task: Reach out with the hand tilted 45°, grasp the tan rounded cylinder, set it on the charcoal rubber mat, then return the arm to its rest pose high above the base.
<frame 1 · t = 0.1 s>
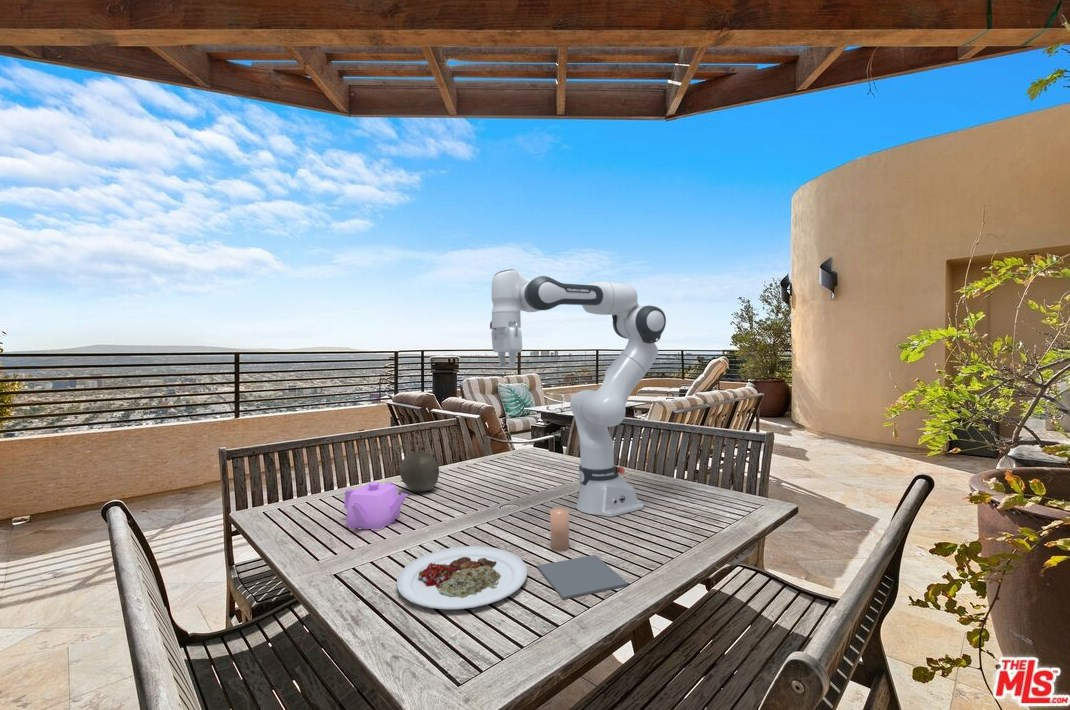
hand: (507, 367, 149), 48 cm above the table, tool pointing down, fingers open, 8 cm apart
plated food: (463, 581, 113), on the table
tan rounded cylinder: (559, 547, 130), on the table
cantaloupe: (420, 492, 182), on the table
teakettle: (375, 523, 151), on the table
mat: (580, 576, 113), on the table
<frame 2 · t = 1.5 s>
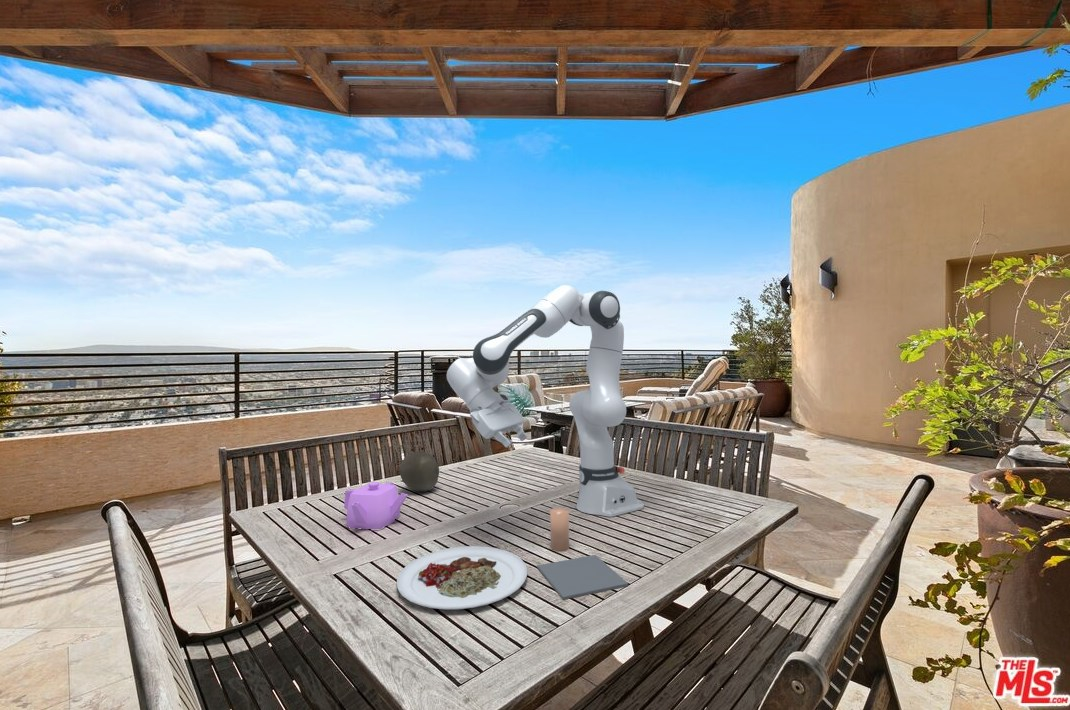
hand: (517, 442, 135), 28 cm above the table, tool tilted 45°, fingers open, 8 cm apart
nothing on the table moved.
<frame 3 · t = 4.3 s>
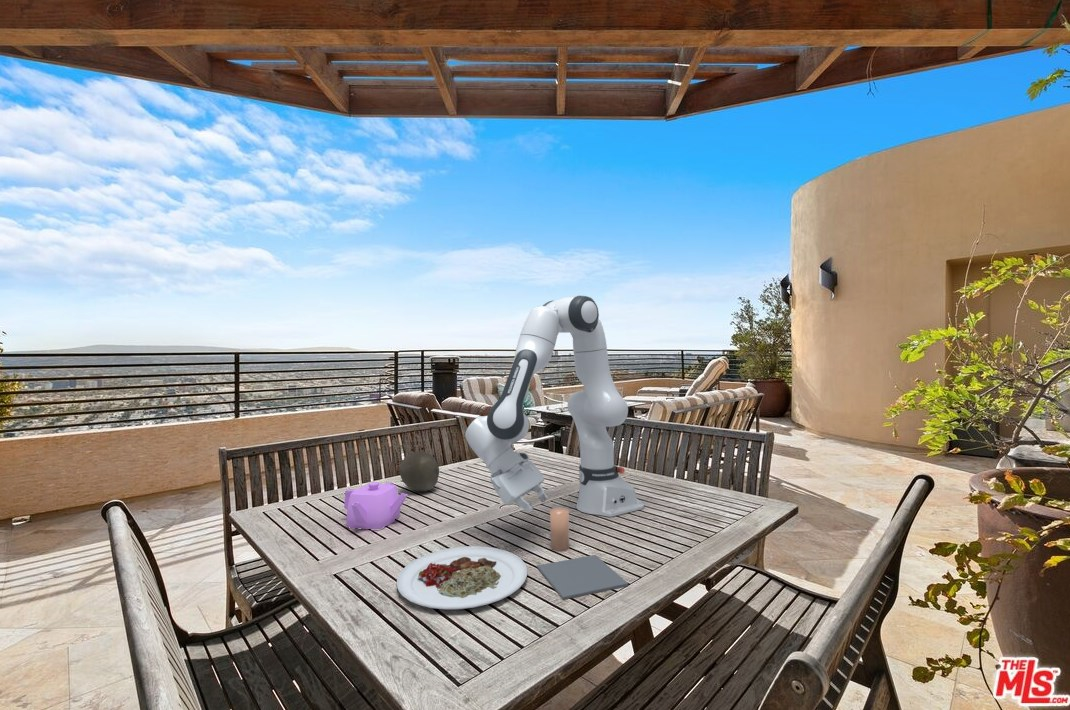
hand: (538, 505, 132), 11 cm above the table, tool tilted 45°, fingers open, 8 cm apart
nothing on the table moved.
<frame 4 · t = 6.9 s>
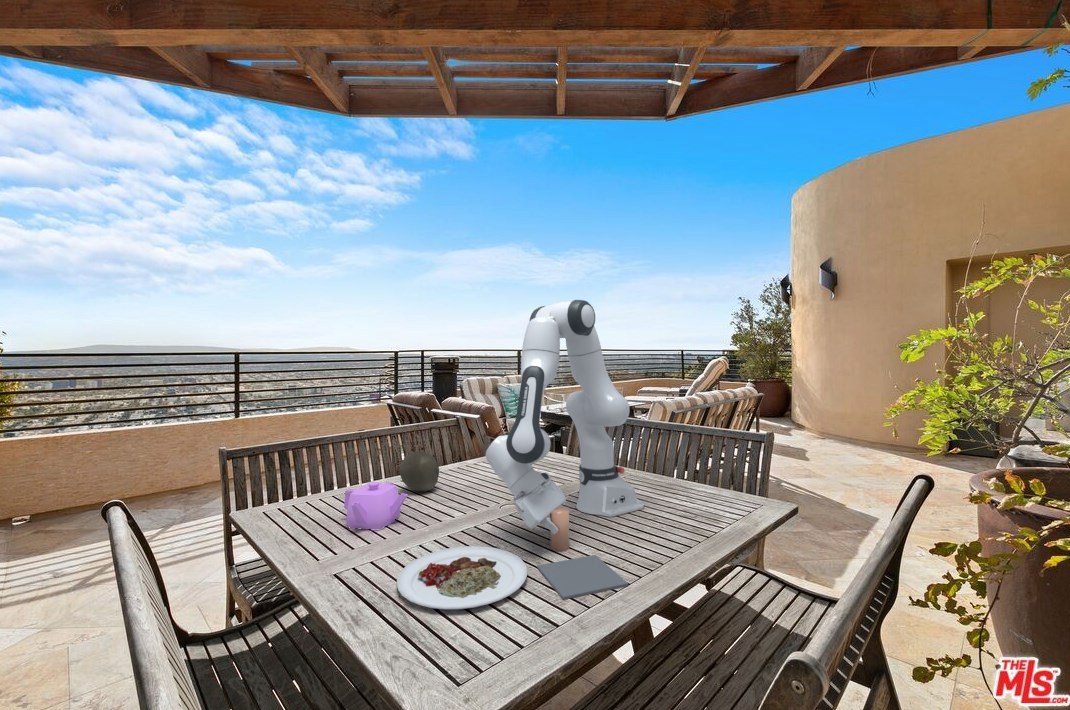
hand: (561, 527, 130), 5 cm above the table, tool tilted 45°, fingers closed on tan rounded cylinder, 5 cm apart
tan rounded cylinder: (559, 547, 130), on the table, touching gripper
everything else where it was.
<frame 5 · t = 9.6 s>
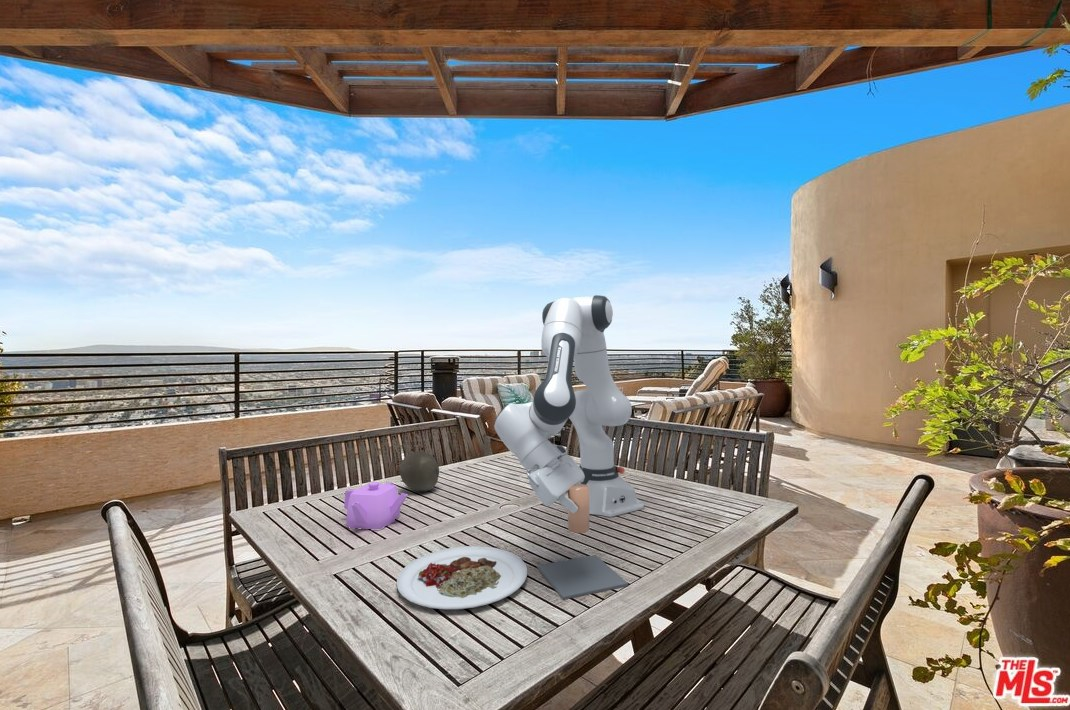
hand: (581, 506, 113), 17 cm above the table, tool tilted 45°, fingers closed on tan rounded cylinder, 5 cm apart
tan rounded cylinder: (578, 529, 113), point 11 cm above the table, touching gripper
everything else where it was.
when the fingers open (7 cm above the table, at t = 12.7 s): tan rounded cylinder stays where it is, resting on mat.
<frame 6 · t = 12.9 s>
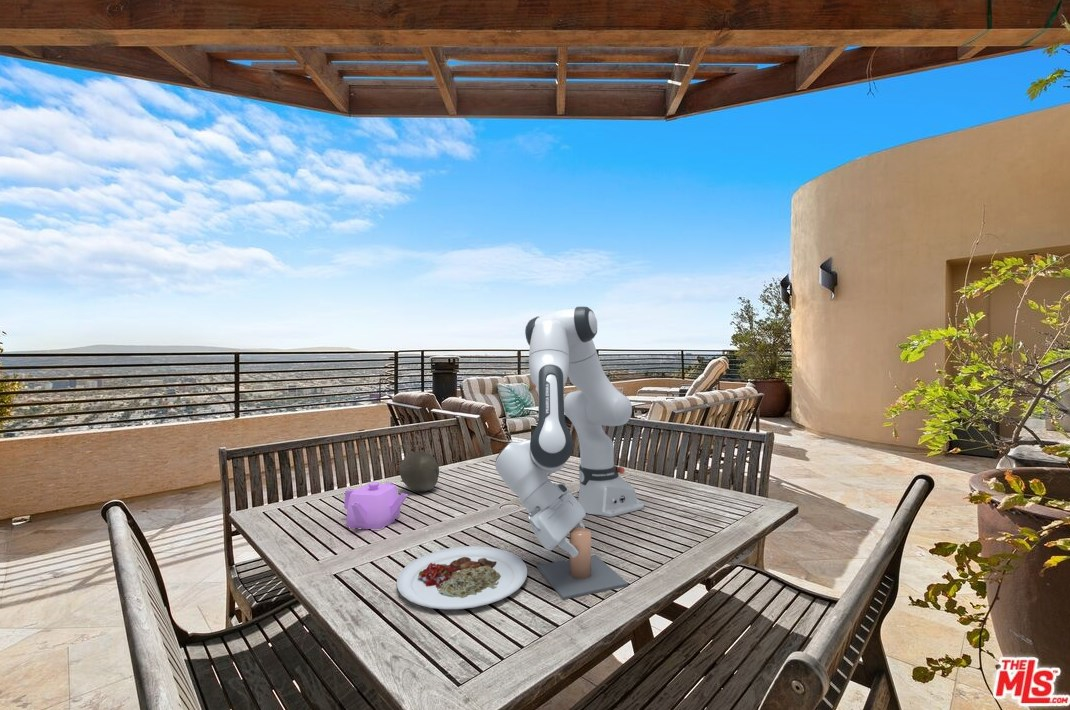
hand: (582, 547, 113), 7 cm above the table, tool tilted 45°, fingers open, 7 cm apart
tan rounded cylinder: (580, 573, 113), point 1 cm above the table, touching mat
everything else where it was.
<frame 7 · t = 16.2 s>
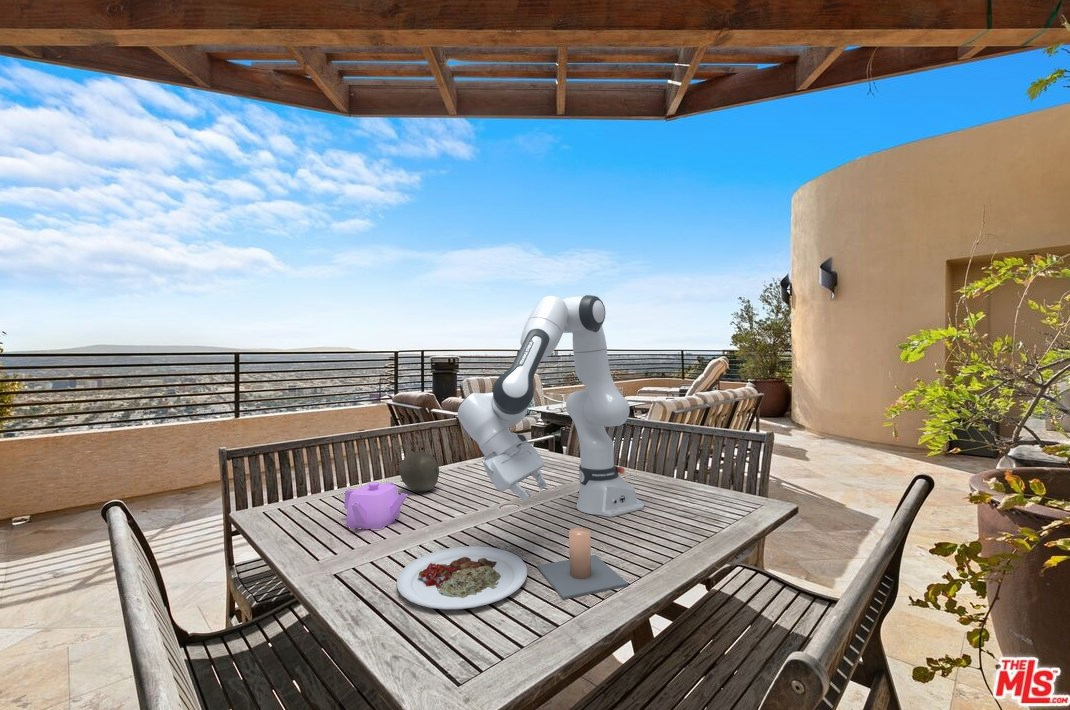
hand: (536, 493, 118), 18 cm above the table, tool tilted 45°, fingers open, 8 cm apart
nothing on the table moved.
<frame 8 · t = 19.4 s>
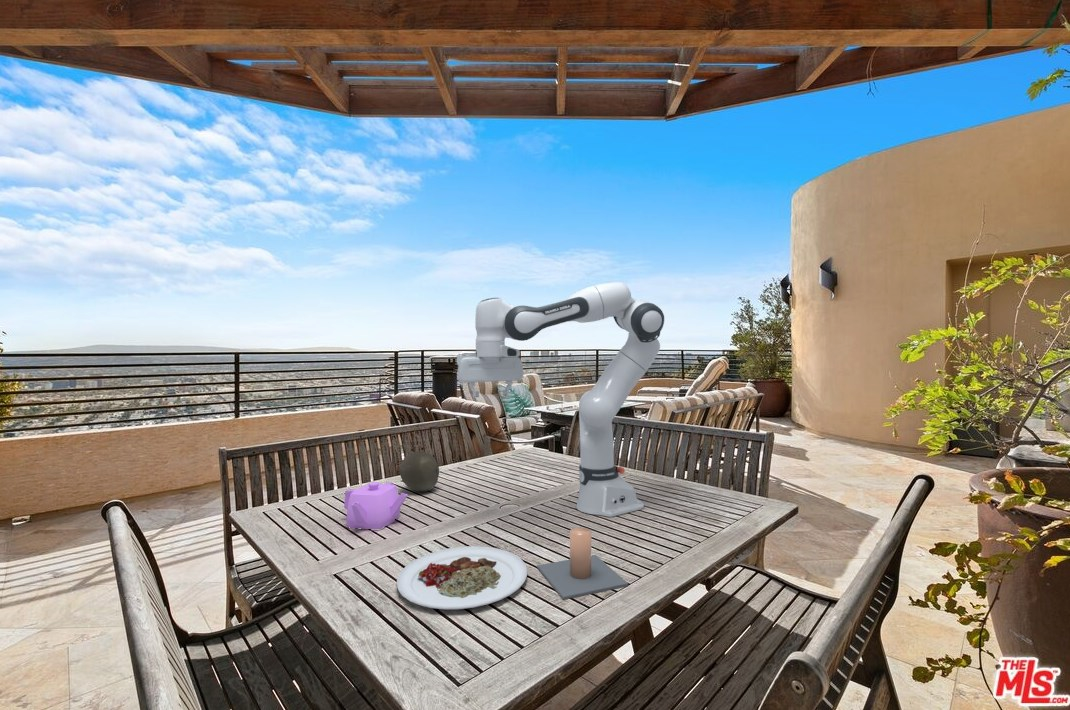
hand: (491, 396, 148), 39 cm above the table, tool pointing down, fingers open, 8 cm apart
nothing on the table moved.
at the end: tan rounded cylinder inside the target area on the mat (0.1 cm from its centre), point 0.6 cm above the mat's base; tan rounded cylinder tilted 1°; the gripper is holding nothing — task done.
